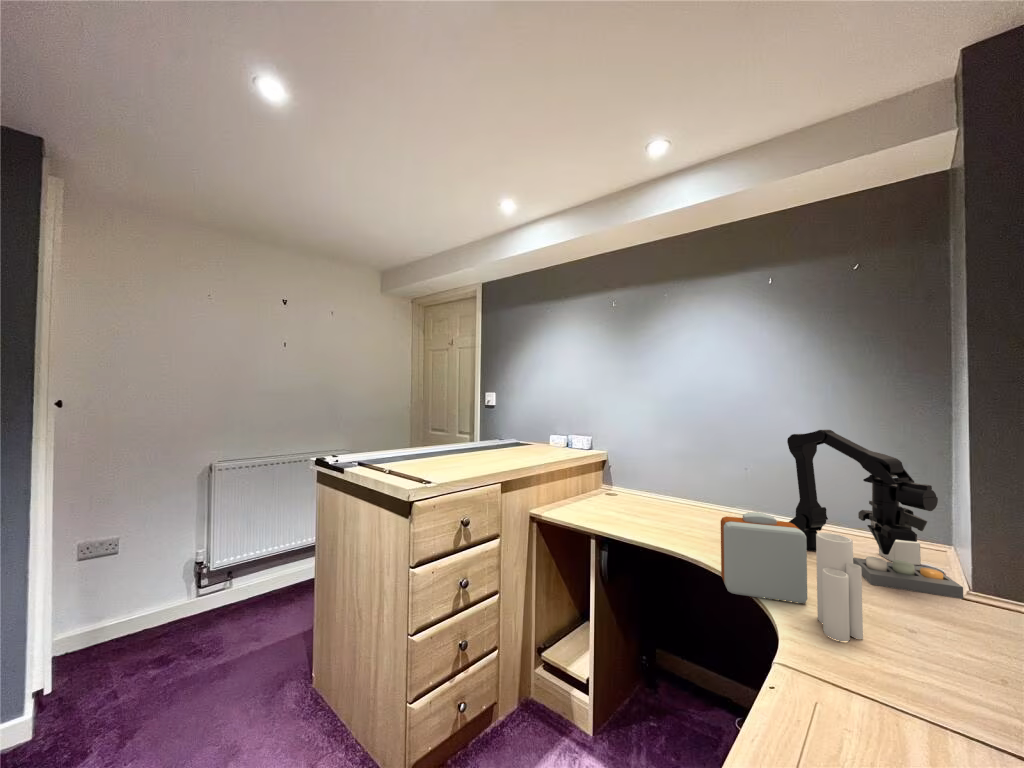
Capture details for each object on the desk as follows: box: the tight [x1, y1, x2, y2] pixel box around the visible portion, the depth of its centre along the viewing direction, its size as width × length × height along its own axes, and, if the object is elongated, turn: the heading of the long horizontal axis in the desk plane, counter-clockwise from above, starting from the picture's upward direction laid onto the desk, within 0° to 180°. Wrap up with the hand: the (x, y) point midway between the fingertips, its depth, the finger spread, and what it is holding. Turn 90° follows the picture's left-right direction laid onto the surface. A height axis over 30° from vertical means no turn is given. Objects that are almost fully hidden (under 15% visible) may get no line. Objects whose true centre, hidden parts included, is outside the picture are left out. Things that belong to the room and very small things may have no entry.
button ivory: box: [865, 556, 888, 572], centre depth 114 cm, size 4×4×3 cm
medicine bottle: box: [878, 524, 922, 566], centre depth 126 cm, size 7×7×12 cm
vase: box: [815, 532, 864, 642], centre depth 89 cm, size 11×7×20 cm, turn 153°
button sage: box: [892, 560, 915, 576], centre depth 111 cm, size 4×4×3 cm
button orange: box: [920, 567, 944, 580], centre depth 109 cm, size 4×4×3 cm
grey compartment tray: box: [853, 557, 964, 599], centre depth 111 cm, size 19×12×3 cm, turn 67°
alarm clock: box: [720, 511, 808, 604], centre depth 106 cm, size 18×9×21 cm, turn 71°
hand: (885, 554), depth 113 cm, fingers closed
